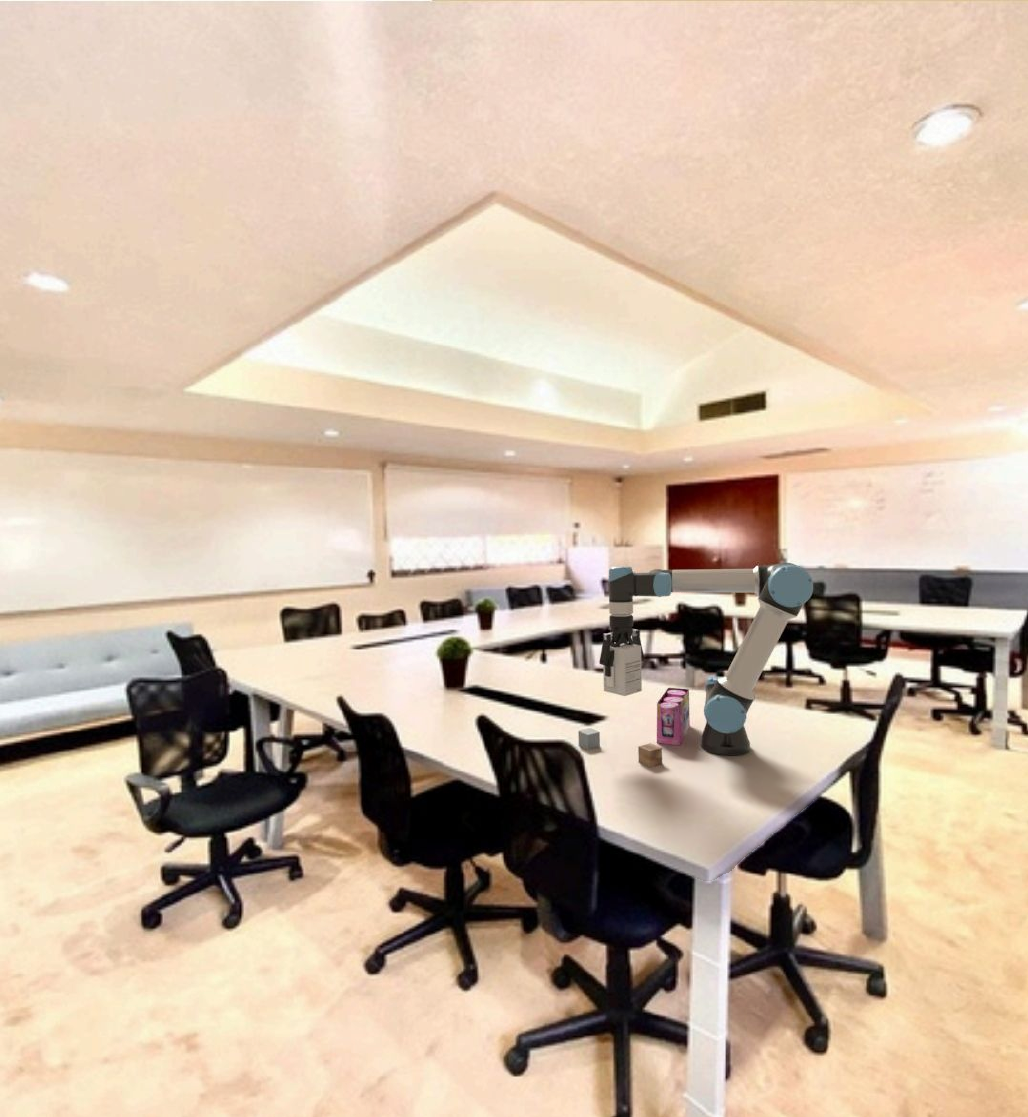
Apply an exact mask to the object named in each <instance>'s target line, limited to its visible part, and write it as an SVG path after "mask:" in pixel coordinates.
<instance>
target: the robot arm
mask: <svg viewBox="0 0 1028 1117" xmlns="http://www.w3.org/2000/svg"><path fill="white" fill-rule="evenodd" d="M813 591H814V581H813V578H812V576H811V574H810V573H809V572H808V570H806V569H805V568H804V567H801V566H800V565H797V564H794V563H791V562H782V563H776V564H768V565H765V564H764V565H756V566H755V567H754V568H720V569H719V568H718V569H716V568H714V569H711V568H710V569H705V568H704V569H659V568H658V569H657V568H655V569H652V570H650V571H649V572H636V571H635V572H633V568H632V566H623V565H622V566H621V565H620V566H619V565H618V566H611V567H610V568H609V570H608V610H609V614H610V615H609V617H608V618H609V627H610V632H608V633H603V634H602V644H601V645H602V646H601V651H600V656H599V662H598V663H599V665H601V666H603V665H604V666H605V676H607V686H609V687H614V667H613V666H612V663H613V660H614V650H612V651H610V646H611V647H614V648H616V647H620V644H623V643H624V644H628V645H633V644H634V645H640V646H641V662H642V660H644V658H645V654H644V650H643V646H642V640H641V630H640V629H635V628H633V626H634V616H633V613H634V603H633V602H634V599H633V598H634V597H658V598H663V597H669V596H671V595H672V593H723V594H724V593H727V594H728V593H739V594H741V593H744V594H745V593H747V594H748V593H752V594H753V593H754V594H755V595H756V596H758V598H757V600H758V603H759V607H758V610H757V612H756V615H755V616H754V618H753V620H752V623H751V624H750V625H749V627H748V630H747V631H746V633H745V635H744V638H743V639H742V640H743V641H742V642H741V644H740V645H739V647H738V650H737V652H736V654H735V656H734V657H733V660H732V661H731V664H730V665H729V667H728V669H727V671H726V674H725V675H724V676H709V677H707V678H706V679H705V686H704V687H705V702H704V707H703V714H704V718H705V721H706V723H705V726H704V729H703V732H702V735H701V739H700V745H701V748H702V749H704V751H706V752H709V753H712V754H716V755H721V756H741V755H745V754H748V753H750V751H751V742H750V739H749V737H748V734H747V731H746V727H745V723H746V721H747V713H748V712H749V710H750V708H751V705H752V704H753V702H754V700H755V695H754V692H753V690H754V687H755V686H756V685H757V682H758V680H759V678H760V676H761V674H762V672H763V671H764V669H765V667H766V665H767V662H769V659H770V657H771V655H772V653H773V652H774V649H775V647H776V646H777V643H778V642H779V639H780V638H781V636H782V634H783V632H784V631H785V628H786V626H787V624H788V622H789V621H790V620H791V619H794V618H797V617H798V616H799V613H800V612H801V610H802V608H803V606H804V604H806V602H808V601H809V599H810V598H811V597H812V594H813ZM608 662H609V663H608Z"/></svg>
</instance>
